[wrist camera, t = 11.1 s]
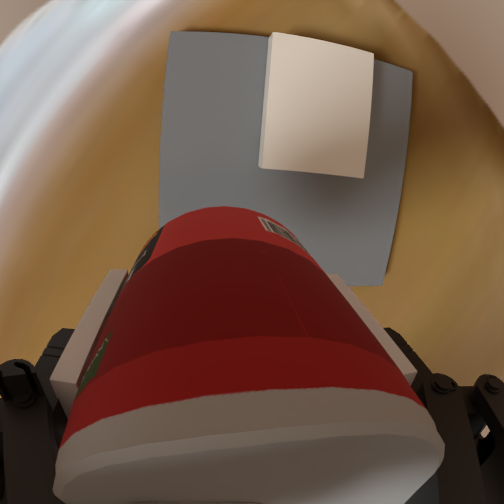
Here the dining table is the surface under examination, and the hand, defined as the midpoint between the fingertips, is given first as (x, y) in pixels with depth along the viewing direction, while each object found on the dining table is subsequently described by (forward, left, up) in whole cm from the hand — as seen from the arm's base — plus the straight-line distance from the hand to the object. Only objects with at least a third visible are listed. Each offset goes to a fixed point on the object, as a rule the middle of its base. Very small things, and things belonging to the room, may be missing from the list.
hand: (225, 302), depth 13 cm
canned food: (0, 0, -2) cm, 2 cm away
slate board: (+5, -5, -11) cm, 13 cm away
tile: (+5, -6, -9) cm, 12 cm away
